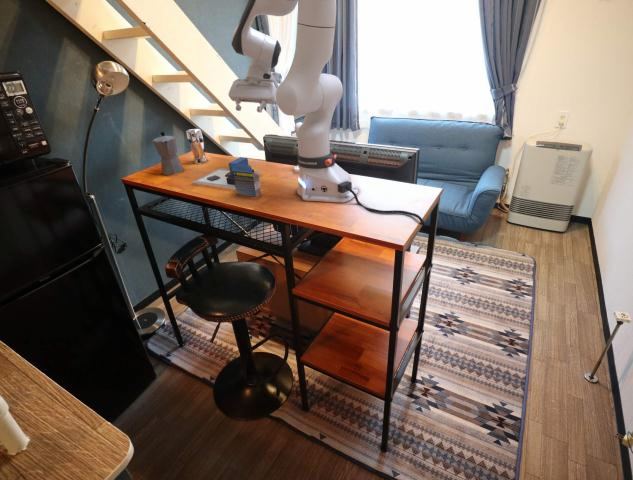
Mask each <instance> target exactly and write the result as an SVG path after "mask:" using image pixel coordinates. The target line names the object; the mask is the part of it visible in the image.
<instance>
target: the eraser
mask: <svg viewBox="0 0 633 480" xmlns="http://www.w3.org/2000/svg"><path fill="white" fill-rule="evenodd" d="M231 164H234V165H243V166H250V165H249V158H248V157H244V156H240V157H238V158H236V159H234V160H232V161H229V162H228V169H230V174H231V176H229V177H227V178H226V180H227V184H231V185H235V182H234V177H233V172H232V167H231ZM238 169H239V170H245V169H243V168H238ZM251 169H252V173H254V172H255V169H253V168H251Z"/></svg>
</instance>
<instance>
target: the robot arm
mask: <svg viewBox="0 0 633 480" xmlns="http://www.w3.org/2000/svg"><path fill="white" fill-rule="evenodd" d="M297 5H298V7H297ZM296 7H297V16H296V17H297V19H296V34H295V35H296V37H295V49H294V53H293V54H294V55H293V57H292V62H291V65H290V68H289V70H288V72H287V75H286V76H285V77H284V79H283V81H282V82H281V83H280V84H279V83H278V81H277V79H276V77H275V76H274V75H273V74H271V70H272V69H274V68H276V67H277V65H278V64H279V58H280V55H281V53H282V46H281V43H280V41H279V39H276V38H274V37H273V36H270V35H268V34H266V33H263V32H261V31H259V30H257V29H254V28H253V27H251V26H252V25H253V22H254V21H255V19H256V17H257V16H261V15H262V16H273V17H285V16H287V15H289V14H291V13H292V12H293V11H295V9H296ZM336 23H337V0H248V1H247V3H246V5H245V7H244V10H243V12H242V15H241V17H240V18H239V21H238V24H237V26H236V27H235V28H234V30H233V32H232V35H231V40H230V41H231V47H232V48H233V50H234V52H235V54H238V55H240V56H241V55H242V56H243V57H244V56H245V57H247V58H250V65H249V67H248V68H247V72H246V75H245V78H236V79H235V80H233V81H232V84H231V86H230V88H229V91H228V97H229V99H230V100H231V101H232V102H235V110H236V111H238V112H241V110H242V106H241V105H240V104H241V103H255V104H260V105H259V106H257V107H256V112H257V113H260V114H261V113H262V112H263V110H264V109H265V108H266V106H267V105H274V104H277V106H278V108H279V110H280V112H282V114H284V115H285V116H294V117H295V116H297V117H299V116H304V119H303V121H302V122H301V123H302V125H301V126H300V127H299V129H298V132H296V139H297V151H298V153H297V165H298V166H299V173H298V174H299V175H298V176H299V177H298V178H297V179H298V186H297V190H296V192H297V194H298V195H299V196H300V197H301V199H302V201H306V202H321V203H322V202H326V203H343V204H344V203H346V202H349V201H351V200H353V199H354V200H355V202H356V203H357V204H358V206H360V207H362V208H363V209H364V210H366V211H369V212H373V213H378V214H404V215H408V216H412V217H416V218H417V219H418V220H419V221H420V223H421V224H422V226H427V224H426V222H425V221H424V219H423V218H422V217H421V216H420V215H419V214H418V213H415V212H410V211H407V210H397V209H396V210H382V209H376V208H372V207H371V208H370V207H367V206H365V205H363V204H362V203H361V201H359V198H358V194H359V193H358V192H359V187H358V186H357V185H354V184H353V182H352V178H351V175H350V174H349V173H348V172H347V171H346V170H344V169H343V168H342V167H341V166H340V165H338V164H337V163H336V159H337V158H338V157H337V154H334V155H333V154H332V152H331V149H330V147H331V145H330V143H331V141H330V140H331V139H330V133H331V124H332V120H333V116H334V113H335V111H336V108H337V106H338V104H339V103H340V102H341V100H342V98H343V93H344V87H343V83H342V81H341V79H340V78H339V77H338V76H337V75H334V74H330V73H323V72H322V71H323V69H324V68H325V66H326V64H327V63H329V61H330V60H331V58H332V56H333V50H334V41H335V32H336ZM429 259H430V258H425V267H424V277H423V286H422V292H421V298H420V304H419V310H418V318H417V326H418V327H420V326H421V321H422V312H423V307H424V306H423V305H424V301H425V300H424V299H425V293H426V287H427V279H428V272H429V261H430V260H429Z"/></svg>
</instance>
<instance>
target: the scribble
mask: <svg viewBox="0 0 633 480" xmlns="http://www.w3.org/2000/svg"><path fill="white" fill-rule="evenodd" d="M207 179H208V180H210V181H214V180H217V179H220V177H218V176H216V175H214V176H211V177H208V178H207Z"/></svg>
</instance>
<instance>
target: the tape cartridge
mask: <svg viewBox="0 0 633 480" xmlns="http://www.w3.org/2000/svg"><path fill="white" fill-rule="evenodd" d="M231 167H232V172H233V177H234V182H235V187H236V188H235V191H236V192H235V193H236V194H237V195H241V196H242V195H243V196H247V197H258V196H259V195H261V194H262V188H261V182H260V176H259V175H260V174H259V175H258V174H256V173H257V172H256V173H252V169H253V168H252V166H251V165H249V166H243V165H234V164H231ZM238 168H243V169H245V170H239V169H238Z"/></svg>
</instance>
